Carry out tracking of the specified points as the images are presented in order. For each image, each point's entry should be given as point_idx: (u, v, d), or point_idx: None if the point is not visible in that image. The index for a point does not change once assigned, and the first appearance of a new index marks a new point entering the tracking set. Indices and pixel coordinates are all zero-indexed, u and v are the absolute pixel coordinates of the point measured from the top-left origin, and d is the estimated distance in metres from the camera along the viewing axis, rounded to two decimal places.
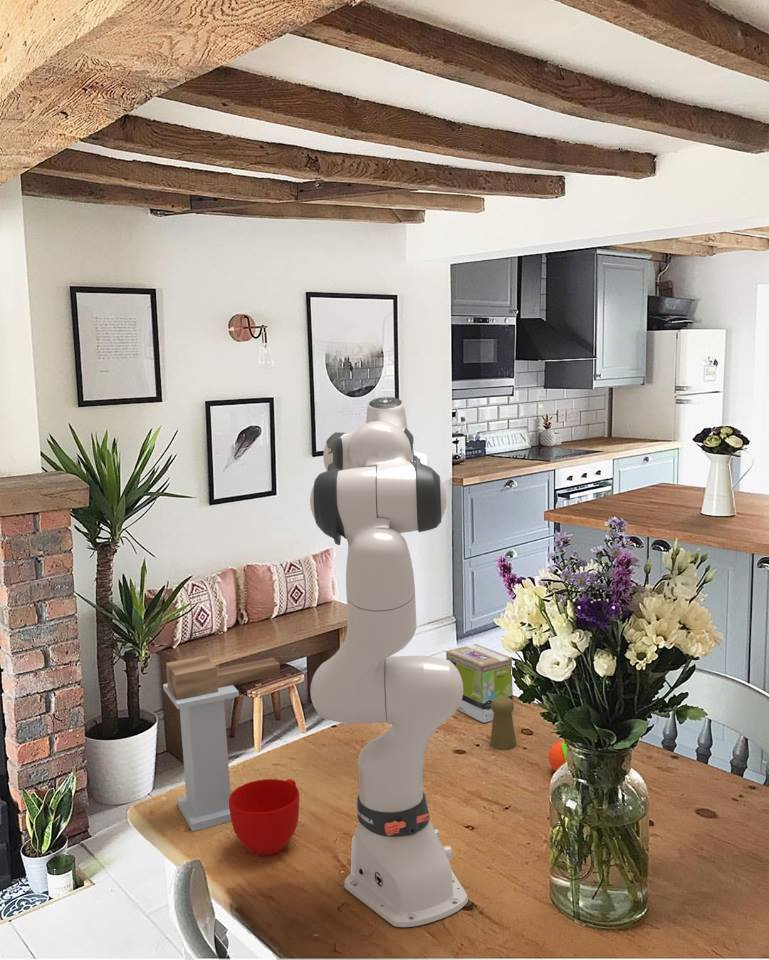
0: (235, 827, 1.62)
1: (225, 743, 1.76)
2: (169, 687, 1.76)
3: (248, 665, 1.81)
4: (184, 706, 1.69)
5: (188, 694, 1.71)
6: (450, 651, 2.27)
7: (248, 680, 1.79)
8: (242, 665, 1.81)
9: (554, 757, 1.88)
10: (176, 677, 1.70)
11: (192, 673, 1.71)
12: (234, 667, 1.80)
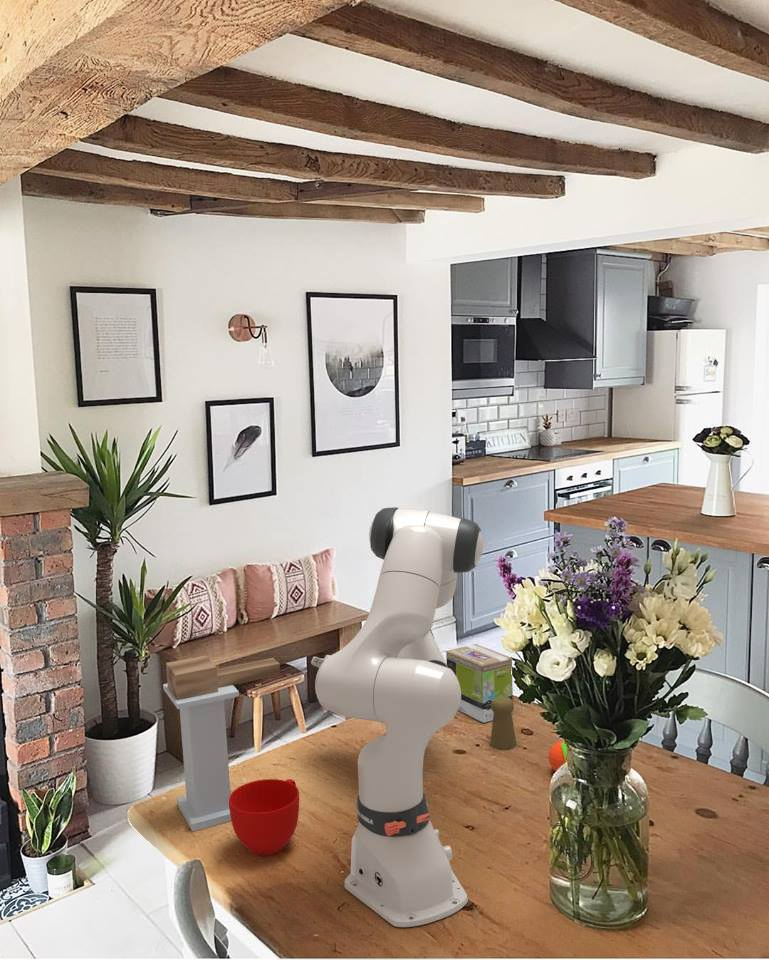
0: (235, 827, 1.62)
1: (225, 743, 1.76)
2: (169, 687, 1.76)
3: (248, 665, 1.81)
4: (184, 706, 1.69)
5: (188, 694, 1.71)
6: (450, 651, 2.27)
7: (248, 680, 1.79)
8: (242, 665, 1.81)
9: (554, 757, 1.88)
10: (176, 677, 1.70)
11: (192, 673, 1.71)
12: (234, 667, 1.80)
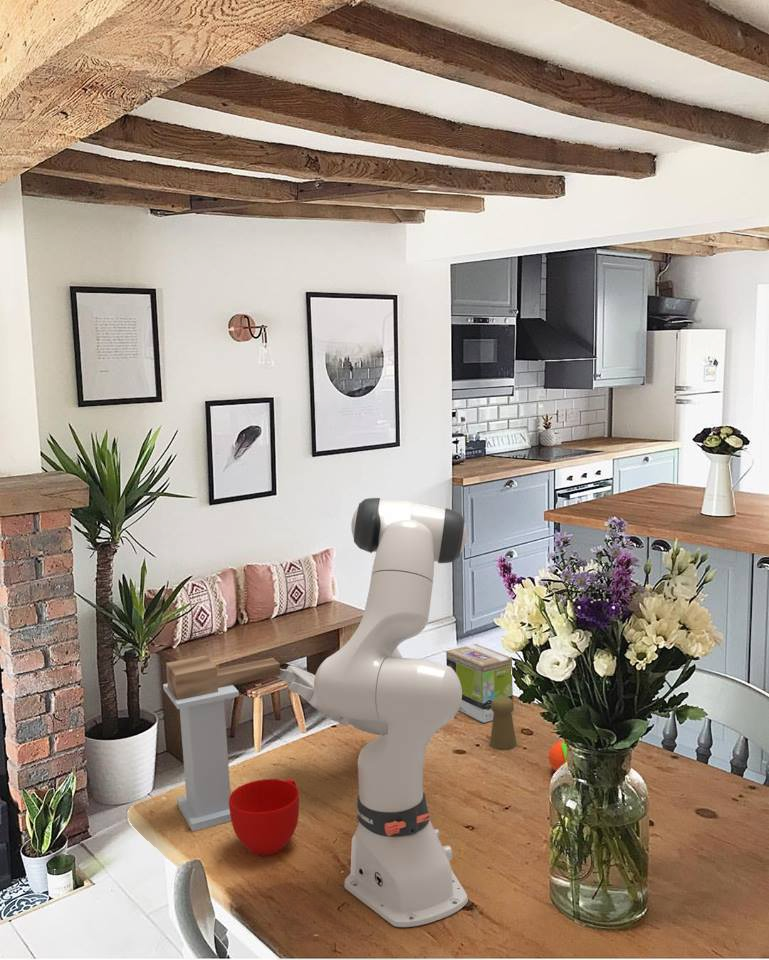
0: (235, 827, 1.62)
1: (225, 743, 1.76)
2: (169, 687, 1.76)
3: (248, 665, 1.81)
4: (184, 706, 1.69)
5: (188, 694, 1.71)
6: (450, 651, 2.27)
7: (248, 680, 1.79)
8: (242, 665, 1.81)
9: (554, 757, 1.88)
10: (176, 677, 1.70)
11: (192, 673, 1.71)
12: (234, 667, 1.80)
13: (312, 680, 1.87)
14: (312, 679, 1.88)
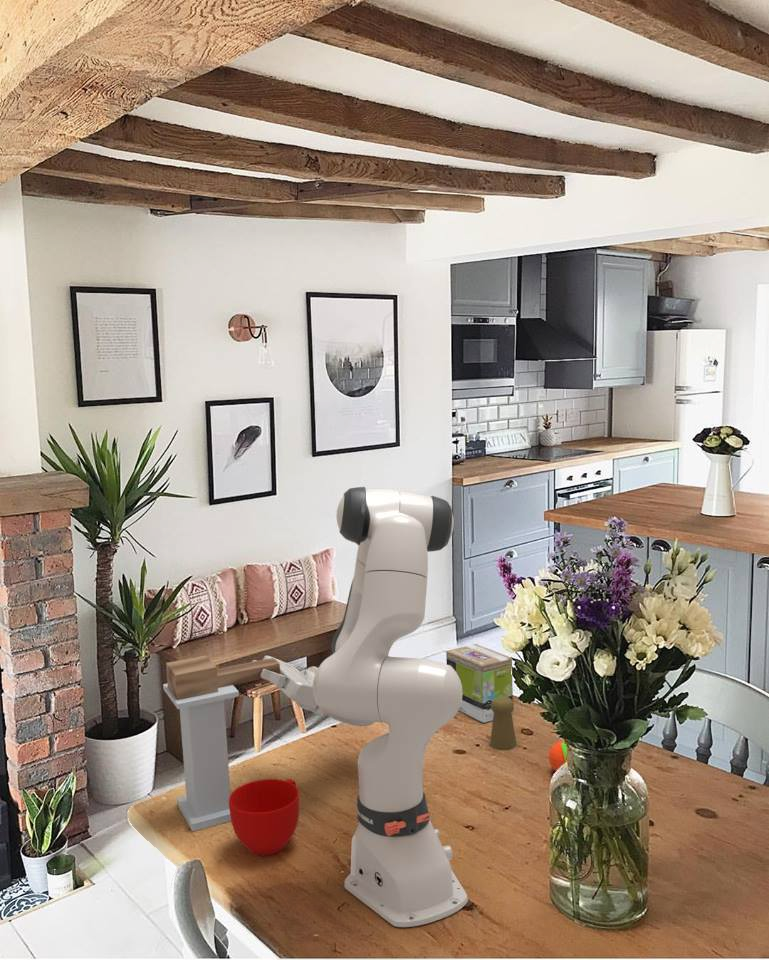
0: (235, 827, 1.62)
1: (225, 743, 1.76)
2: (169, 687, 1.76)
3: (248, 665, 1.81)
4: (184, 706, 1.69)
5: (188, 694, 1.71)
6: (450, 651, 2.27)
7: (248, 680, 1.79)
8: (242, 665, 1.81)
9: (554, 757, 1.88)
10: (176, 677, 1.70)
11: (192, 673, 1.71)
12: (234, 667, 1.80)
13: (288, 670, 1.84)
14: (288, 669, 1.86)
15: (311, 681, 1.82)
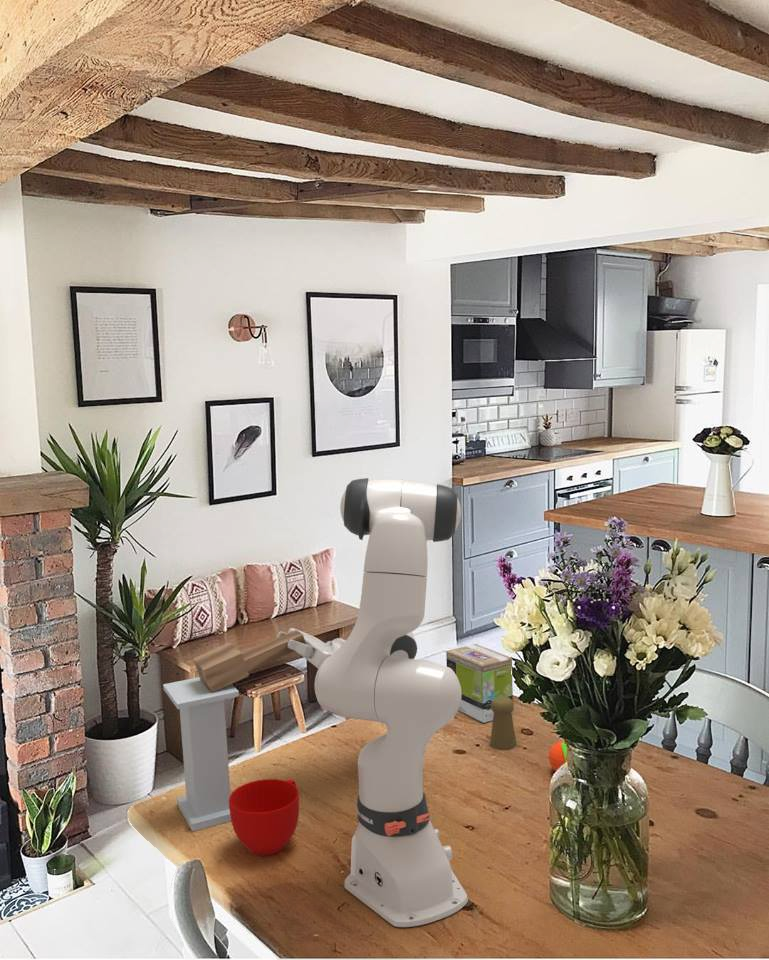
0: (235, 827, 1.62)
1: (225, 743, 1.76)
2: (201, 680, 1.79)
3: (273, 643, 1.83)
4: (184, 706, 1.69)
5: (220, 685, 1.74)
6: (450, 651, 2.27)
7: (276, 657, 1.81)
8: (267, 644, 1.83)
9: (554, 757, 1.88)
10: (205, 672, 1.72)
11: (219, 664, 1.74)
12: (260, 647, 1.82)
13: (314, 641, 1.86)
14: (314, 640, 1.88)
15: None
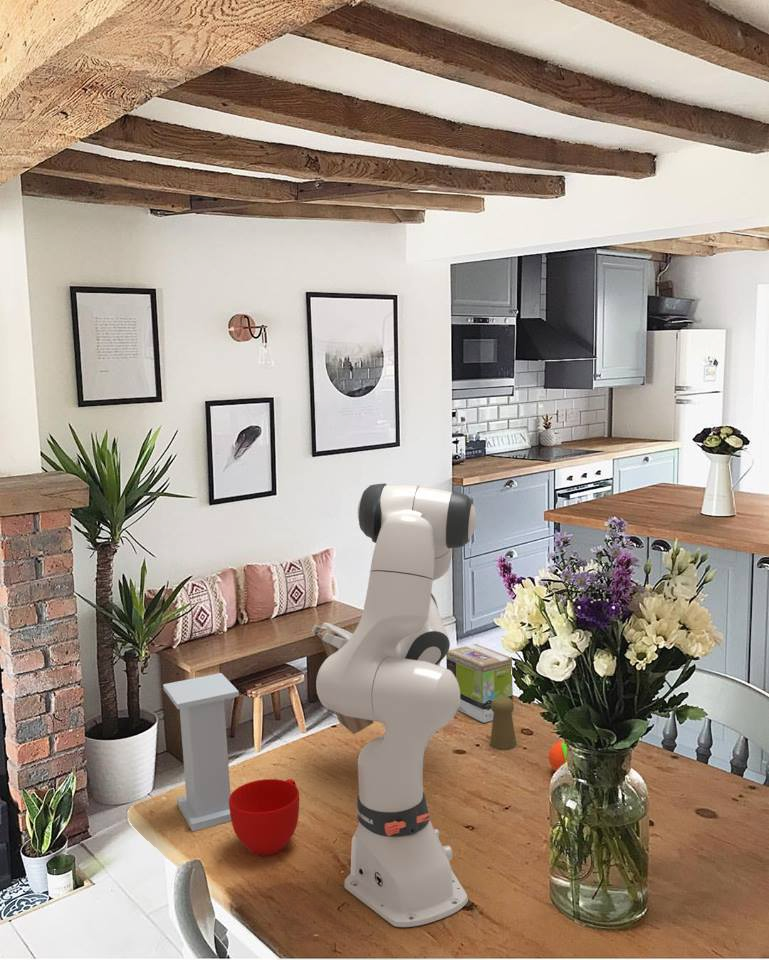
0: (235, 827, 1.62)
1: (225, 743, 1.76)
2: None
3: None
4: (184, 706, 1.69)
5: None
6: (450, 651, 2.27)
7: None
8: None
9: (554, 757, 1.88)
10: (355, 732, 1.89)
11: (350, 720, 1.88)
12: None
13: (348, 635, 1.90)
14: (348, 634, 1.91)
15: None
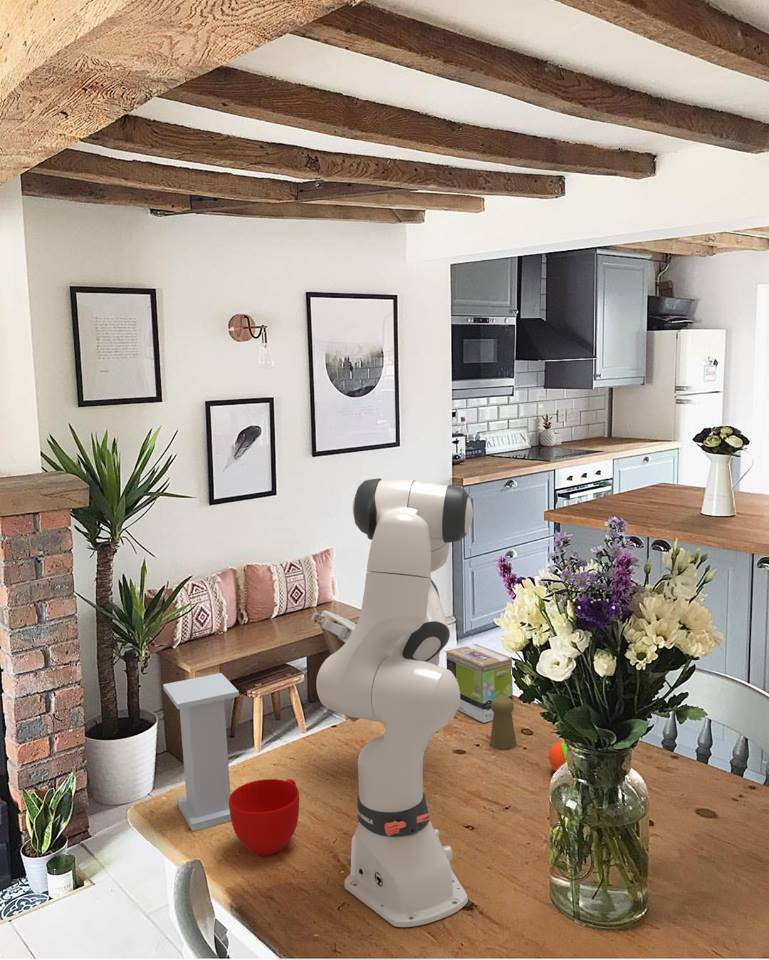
0: (235, 827, 1.62)
1: (225, 743, 1.76)
2: None
3: (331, 647, 1.89)
4: (184, 706, 1.69)
5: None
6: (450, 651, 2.27)
7: None
8: (331, 650, 1.90)
9: (554, 757, 1.88)
10: (355, 720, 1.88)
11: None
12: None
13: (348, 623, 1.89)
14: (348, 622, 1.91)
15: None
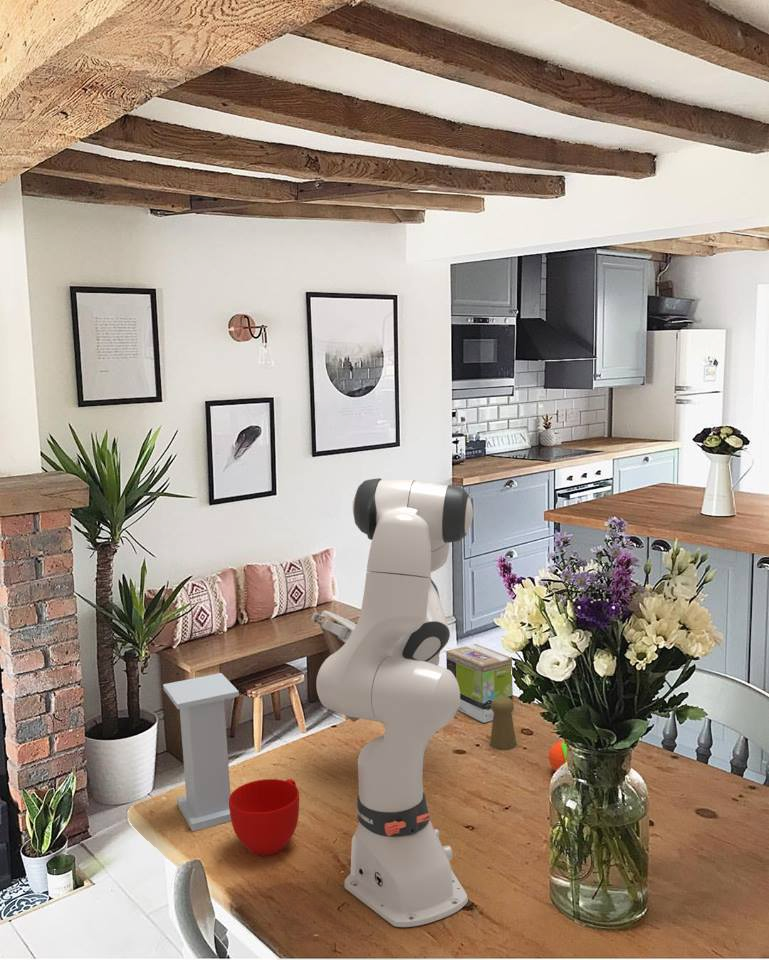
0: (235, 827, 1.62)
1: (225, 743, 1.76)
2: None
3: (331, 647, 1.89)
4: (184, 706, 1.69)
5: None
6: (450, 651, 2.27)
7: None
8: (331, 650, 1.90)
9: (554, 757, 1.88)
10: (355, 720, 1.88)
11: None
12: None
13: (348, 623, 1.89)
14: (348, 622, 1.91)
15: None
